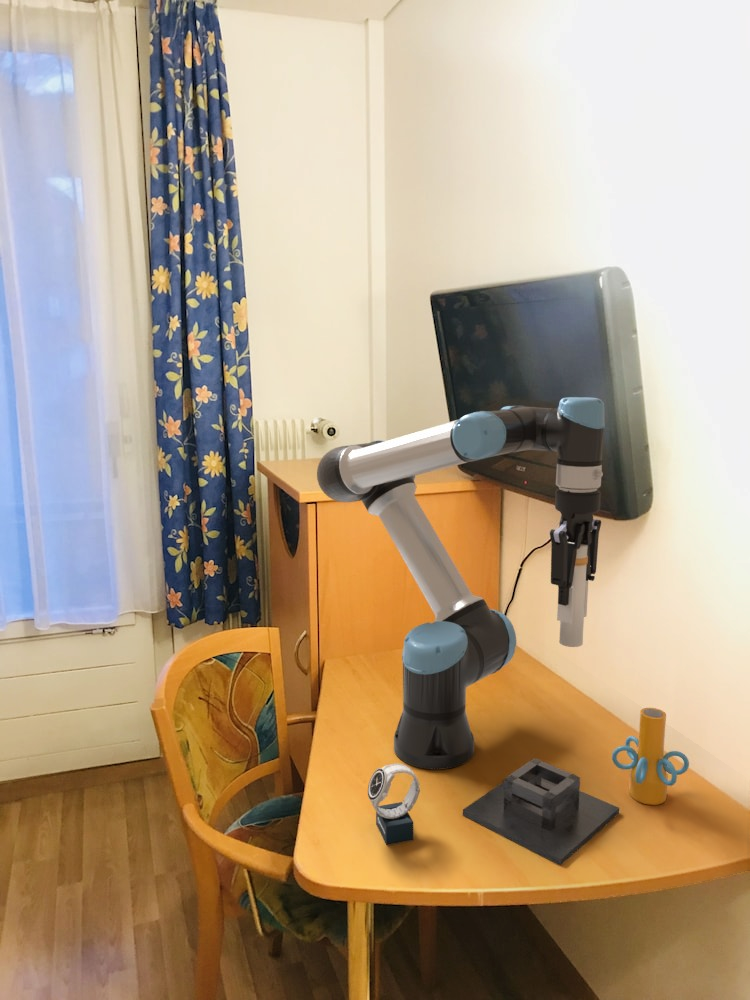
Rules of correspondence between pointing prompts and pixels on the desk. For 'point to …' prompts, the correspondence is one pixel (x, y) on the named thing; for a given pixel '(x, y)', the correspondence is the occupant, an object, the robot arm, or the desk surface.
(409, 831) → the watch
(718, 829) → the desk surface
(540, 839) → the collar stand
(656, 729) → the yellow ring vase
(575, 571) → the tube
